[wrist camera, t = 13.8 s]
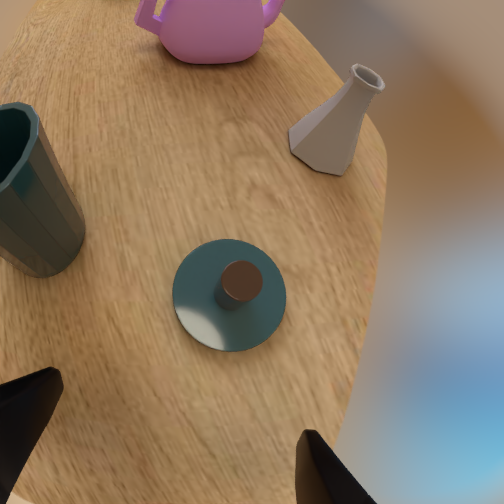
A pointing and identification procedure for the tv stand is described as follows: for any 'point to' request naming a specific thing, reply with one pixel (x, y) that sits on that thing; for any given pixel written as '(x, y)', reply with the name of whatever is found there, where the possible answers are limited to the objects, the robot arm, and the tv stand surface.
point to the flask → (336, 124)
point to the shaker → (34, 198)
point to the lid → (229, 295)
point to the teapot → (209, 27)
